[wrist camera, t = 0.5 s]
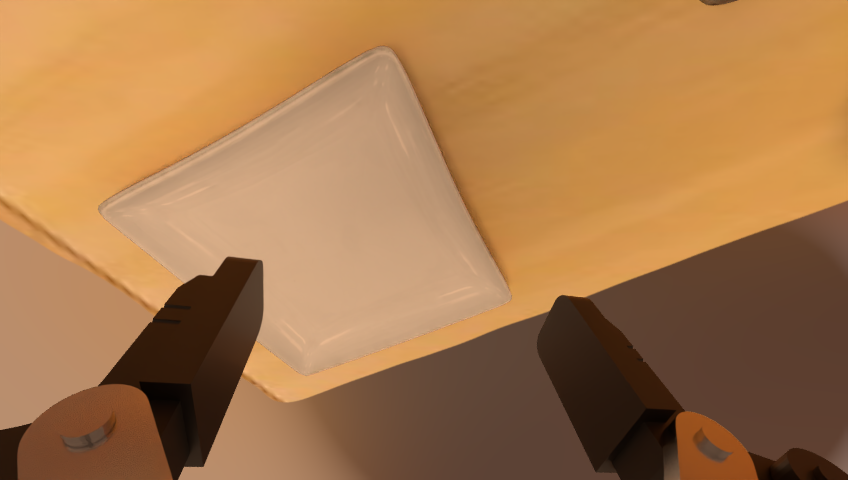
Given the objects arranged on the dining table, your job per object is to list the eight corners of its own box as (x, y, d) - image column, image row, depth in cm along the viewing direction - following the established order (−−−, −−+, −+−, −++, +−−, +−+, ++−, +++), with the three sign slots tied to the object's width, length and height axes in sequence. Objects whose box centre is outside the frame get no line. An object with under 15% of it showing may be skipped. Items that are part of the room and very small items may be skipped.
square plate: (389, 30, 25) (389, 38, 22) (507, 279, 40) (516, 304, 37) (115, 190, 31) (83, 213, 28) (309, 355, 46) (303, 382, 43)
